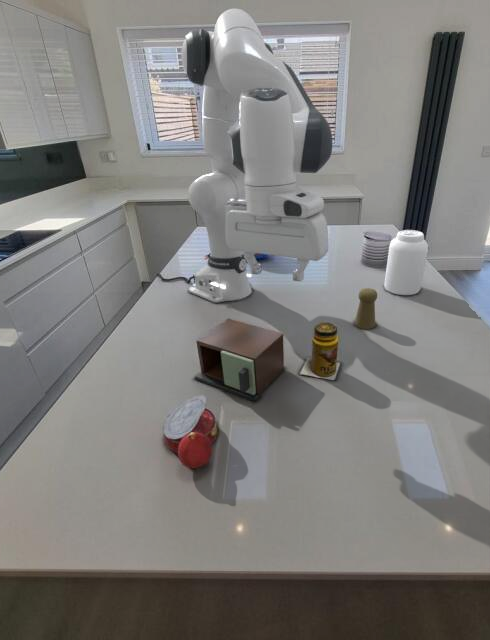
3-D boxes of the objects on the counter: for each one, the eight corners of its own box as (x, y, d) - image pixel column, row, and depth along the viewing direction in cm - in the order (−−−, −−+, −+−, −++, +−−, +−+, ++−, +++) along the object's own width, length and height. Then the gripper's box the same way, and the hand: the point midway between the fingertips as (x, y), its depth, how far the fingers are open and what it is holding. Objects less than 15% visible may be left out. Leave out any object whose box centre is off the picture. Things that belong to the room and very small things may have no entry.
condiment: (334, 380, 87) (337, 336, 81) (299, 374, 89) (300, 331, 83) (340, 363, 93) (343, 321, 87) (307, 358, 95) (308, 316, 89)
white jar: (381, 293, 129) (388, 235, 119) (386, 280, 139) (394, 226, 129) (418, 298, 125) (429, 239, 115) (421, 284, 135) (432, 229, 125)
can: (368, 256, 162) (371, 228, 156) (393, 261, 157) (397, 232, 150) (356, 263, 155) (358, 235, 148) (381, 269, 149) (385, 239, 143)
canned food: (201, 469, 71) (179, 456, 63) (164, 444, 75) (139, 429, 67) (234, 419, 76) (218, 400, 67) (197, 398, 80) (177, 378, 71)
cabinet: (195, 379, 88) (188, 343, 83) (230, 351, 99) (226, 317, 93) (254, 401, 81) (252, 364, 76) (285, 369, 91) (285, 333, 86)
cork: (375, 329, 107) (379, 295, 102) (353, 328, 108) (357, 293, 103) (375, 320, 112) (379, 286, 107) (355, 318, 114) (358, 284, 108)
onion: (184, 453, 69) (177, 421, 65) (215, 450, 69) (210, 419, 65) (179, 479, 64) (171, 446, 60) (212, 476, 64) (207, 443, 60)
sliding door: (219, 389, 83) (214, 356, 78) (226, 382, 85) (222, 350, 81) (248, 400, 80) (245, 367, 75) (255, 393, 82) (253, 360, 77)
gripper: (213, 201, 66) (223, 274, 74) (316, 207, 57) (317, 290, 64) (234, 195, 71) (242, 264, 78) (332, 200, 62) (331, 278, 69)
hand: (276, 276), depth 71 cm, fingers open, 8 cm apart
